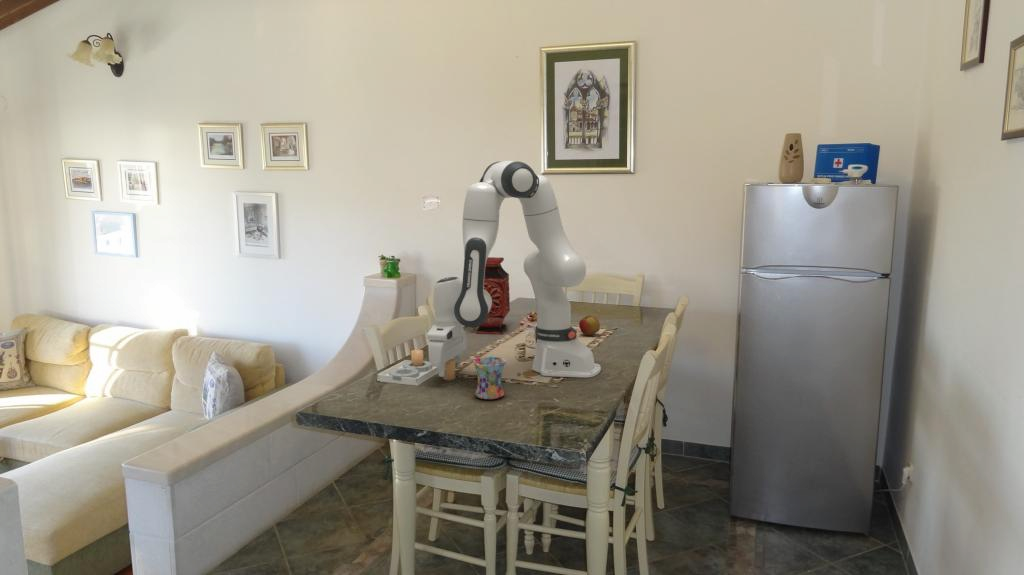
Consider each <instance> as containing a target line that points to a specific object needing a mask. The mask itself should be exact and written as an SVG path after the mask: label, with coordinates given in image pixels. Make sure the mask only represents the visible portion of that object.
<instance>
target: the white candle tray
mask: <svg viewBox="0 0 1024 575" xmlns="http://www.w3.org/2000/svg"><path fill="white" fill-rule="evenodd" d="M410 353H411V355H410V356H411V360H410V359H404V360H403V361H401V362H398V363H397V364H395V365H393V366H391V367H389V368H387V369H385V370H383V371H381V372H379V373H377V374H376V379H377V380H376V381H377V382H378V381H380V382H381V383H387V384H388V383H389V384H397V385H398V384H399V385H408V386H417V387H418V386H420V385H421V384H423V383H424V382H426V381H427V380H429V379H430V378H432V377H435V376H436V375H438V374H439V370H438V368H437V365H431V364H430V362H429V360H424V350H423V349H413V350H410Z"/></svg>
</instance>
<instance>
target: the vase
mask: <svg viewBox="0 0 1024 575" xmlns="http://www.w3.org/2000/svg"><path fill="white" fill-rule="evenodd" d="M504 260H505V259H504V257H497V256H496V257H494V256H493V257H491V256H490V257H489V256H488V258H487V261H486V265H485V276H484V288H483V289H485V290H486V291H487V292H488V293H489V294H490V295H491V298H492V307H491V309H490V311H489V313H488V316H487V318H486V320H485V322H484V323H483V324H481V325H480V326H478V328H477V329H476V334H481V335H482V334H484V335H503V334H504V332H505V331H506V330H507V324H504V320H505V318H506V317H507V315H508V314H509V312H510V311H511V308H510V304H511V302H510V282H509V280H510V278H509V277H510V274H509V273H508V272H507V271H506V270H505V269H504V268H503V267H502V264H501V263H503V262H504Z"/></svg>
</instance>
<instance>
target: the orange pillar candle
mask: <svg viewBox="0 0 1024 575" xmlns="http://www.w3.org/2000/svg"><path fill="white" fill-rule="evenodd" d="M444 368H445V370H446V376H444V377H442V379H443V380H445V381H454V380H455V379H456V369H455V359H453V358H452V359H451V360H449V361H447V362H446V363H445V366H444Z"/></svg>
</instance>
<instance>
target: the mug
mask: <svg viewBox="0 0 1024 575" xmlns="http://www.w3.org/2000/svg"><path fill="white" fill-rule="evenodd" d="M472 361H473V362H472V363H473V365H474V368H475V370H476V374H477V387H476V390H475V393H474V395H475V396H476V397H477V398H479V399H482V400H496V399H499V398H502V397H504V395H505V390H504V389H503V384H502V375H503V370H504V366H505V364H506V363H507V362H506V359H504V357H503V358H502V357H498V356H483V357H477V358H476V359H474V360H472Z"/></svg>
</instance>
